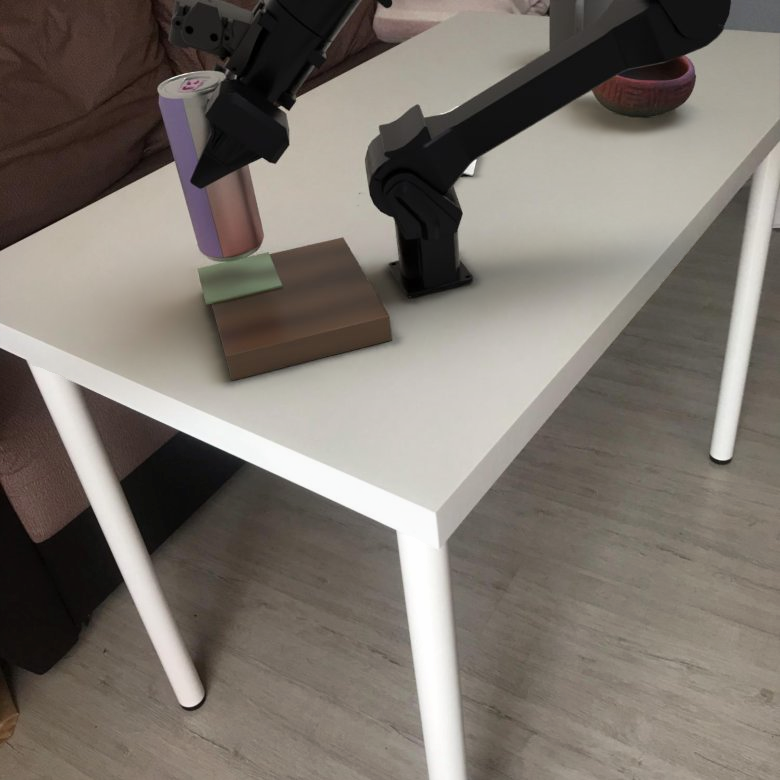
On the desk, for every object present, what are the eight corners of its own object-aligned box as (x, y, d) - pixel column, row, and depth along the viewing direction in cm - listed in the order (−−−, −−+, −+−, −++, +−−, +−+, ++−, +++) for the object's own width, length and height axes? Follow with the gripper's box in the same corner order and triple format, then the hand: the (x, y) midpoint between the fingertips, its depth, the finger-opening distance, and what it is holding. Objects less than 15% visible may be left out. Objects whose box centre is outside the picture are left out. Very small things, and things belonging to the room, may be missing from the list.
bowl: (696, 96, 112) (703, 32, 108) (687, 133, 103) (694, 65, 98) (572, 94, 118) (573, 33, 113) (553, 129, 108) (553, 64, 104)
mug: (551, 51, 134) (552, -33, 127) (612, 49, 132) (616, -37, 124) (544, 80, 123) (544, -10, 116) (610, 78, 121) (615, -14, 114)
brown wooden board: (392, 340, 74) (389, 313, 72) (226, 382, 72) (218, 355, 70) (346, 259, 87) (343, 234, 85) (203, 292, 84) (196, 268, 83)
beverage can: (192, 265, 77) (144, 97, 68) (210, 234, 81) (168, 72, 72) (257, 262, 76) (217, 91, 67) (271, 231, 80) (236, 67, 71)
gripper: (221, -74, 72) (128, 80, 78) (204, -27, 57) (91, 158, 63) (330, 13, 76) (233, 151, 83) (341, 77, 61) (222, 239, 68)
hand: (198, 170), depth 74 cm, fingers closed on beverage can, 6 cm apart
